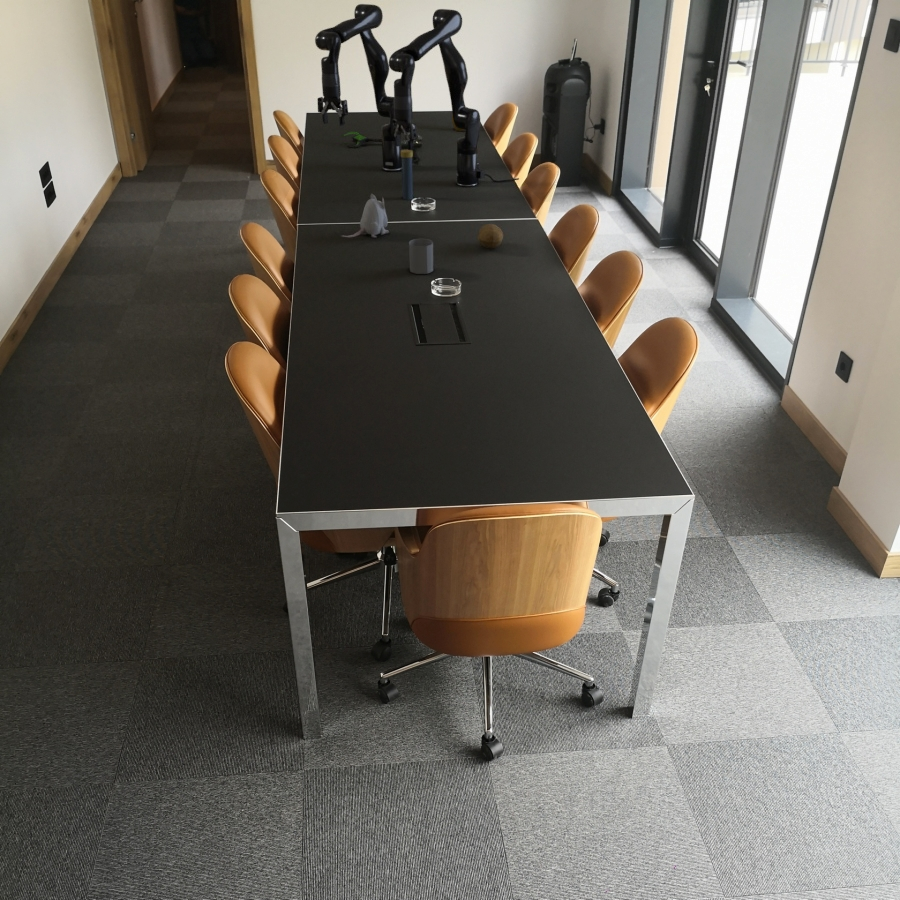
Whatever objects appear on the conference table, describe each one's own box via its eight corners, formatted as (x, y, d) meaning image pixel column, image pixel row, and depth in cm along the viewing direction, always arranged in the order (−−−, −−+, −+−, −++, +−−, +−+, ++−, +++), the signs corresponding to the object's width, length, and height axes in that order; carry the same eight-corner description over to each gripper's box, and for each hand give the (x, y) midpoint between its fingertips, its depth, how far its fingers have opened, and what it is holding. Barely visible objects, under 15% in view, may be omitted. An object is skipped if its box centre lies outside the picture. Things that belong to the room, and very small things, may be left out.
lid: (401, 154, 374) (401, 149, 373) (413, 154, 373) (413, 149, 372) (399, 157, 370) (399, 152, 368) (411, 157, 369) (411, 152, 368)
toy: (394, 233, 341) (393, 195, 333) (349, 248, 327) (347, 208, 319) (379, 228, 347) (377, 190, 338) (334, 242, 332) (331, 203, 324)
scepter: (399, 128, 463) (342, 126, 461) (399, 144, 456) (341, 141, 454) (398, 138, 468) (343, 136, 466) (398, 153, 461) (342, 151, 459)
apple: (471, 132, 486) (471, 108, 479) (451, 132, 486) (451, 108, 479) (470, 128, 495) (471, 104, 488) (452, 128, 495) (452, 104, 488)
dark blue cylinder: (403, 196, 383) (402, 150, 373) (413, 197, 383) (412, 150, 372) (402, 199, 380) (400, 153, 369) (412, 200, 379) (411, 153, 368)
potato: (500, 240, 334) (501, 219, 330) (505, 252, 323) (505, 231, 318) (475, 240, 334) (475, 220, 330) (479, 253, 322) (479, 232, 318)
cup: (409, 265, 311) (408, 238, 306) (432, 265, 312) (431, 238, 307) (410, 274, 304) (409, 246, 299) (433, 273, 305) (433, 246, 299)
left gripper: (350, 84, 364) (352, 124, 372) (322, 81, 370) (325, 121, 378) (339, 87, 358) (342, 128, 367) (311, 84, 364) (315, 124, 373)
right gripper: (421, 108, 348) (421, 149, 357) (400, 102, 358) (401, 143, 366) (406, 111, 344) (407, 152, 353) (385, 105, 354) (386, 146, 362)
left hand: (333, 124), depth 373 cm, fingers open, 8 cm apart
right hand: (404, 148), depth 360 cm, fingers open, 8 cm apart
